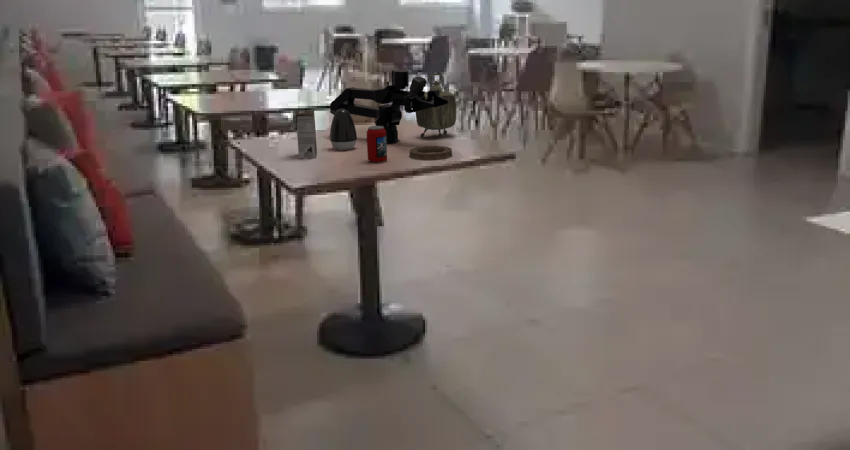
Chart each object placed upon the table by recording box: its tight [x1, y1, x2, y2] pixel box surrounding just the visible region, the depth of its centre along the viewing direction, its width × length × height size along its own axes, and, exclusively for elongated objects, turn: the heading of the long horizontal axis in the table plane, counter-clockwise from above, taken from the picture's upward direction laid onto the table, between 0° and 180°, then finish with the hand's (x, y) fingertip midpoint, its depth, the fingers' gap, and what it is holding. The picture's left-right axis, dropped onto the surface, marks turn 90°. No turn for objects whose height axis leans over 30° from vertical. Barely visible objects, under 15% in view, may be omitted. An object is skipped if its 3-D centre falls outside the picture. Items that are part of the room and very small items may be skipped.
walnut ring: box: [409, 145, 453, 161], centre depth 293 cm, size 15×15×2 cm
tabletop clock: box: [415, 72, 457, 138], centre depth 323 cm, size 14×9×25 cm, turn 121°
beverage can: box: [366, 125, 388, 163], centre depth 285 cm, size 7×7×12 cm
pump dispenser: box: [329, 109, 358, 151], centre depth 307 cm, size 10×10×15 cm
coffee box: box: [295, 109, 318, 160], centre depth 296 cm, size 9×6×16 cm
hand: (440, 103), depth 300 cm, fingers open, 9 cm apart
